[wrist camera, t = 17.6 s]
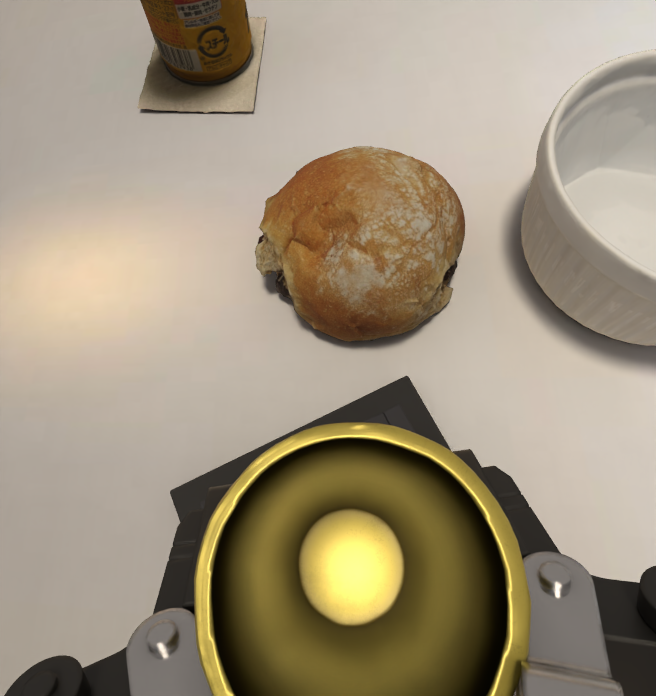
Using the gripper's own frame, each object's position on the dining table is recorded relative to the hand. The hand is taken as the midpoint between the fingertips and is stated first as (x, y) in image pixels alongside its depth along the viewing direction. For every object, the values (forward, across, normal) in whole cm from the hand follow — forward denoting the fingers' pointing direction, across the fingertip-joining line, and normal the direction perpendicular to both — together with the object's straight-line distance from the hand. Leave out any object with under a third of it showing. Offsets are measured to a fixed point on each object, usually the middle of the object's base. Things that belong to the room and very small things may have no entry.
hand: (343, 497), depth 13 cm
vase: (+5, 0, +8) cm, 10 cm away
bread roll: (+16, -3, -2) cm, 17 cm away
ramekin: (+15, -17, -1) cm, 23 cm away
